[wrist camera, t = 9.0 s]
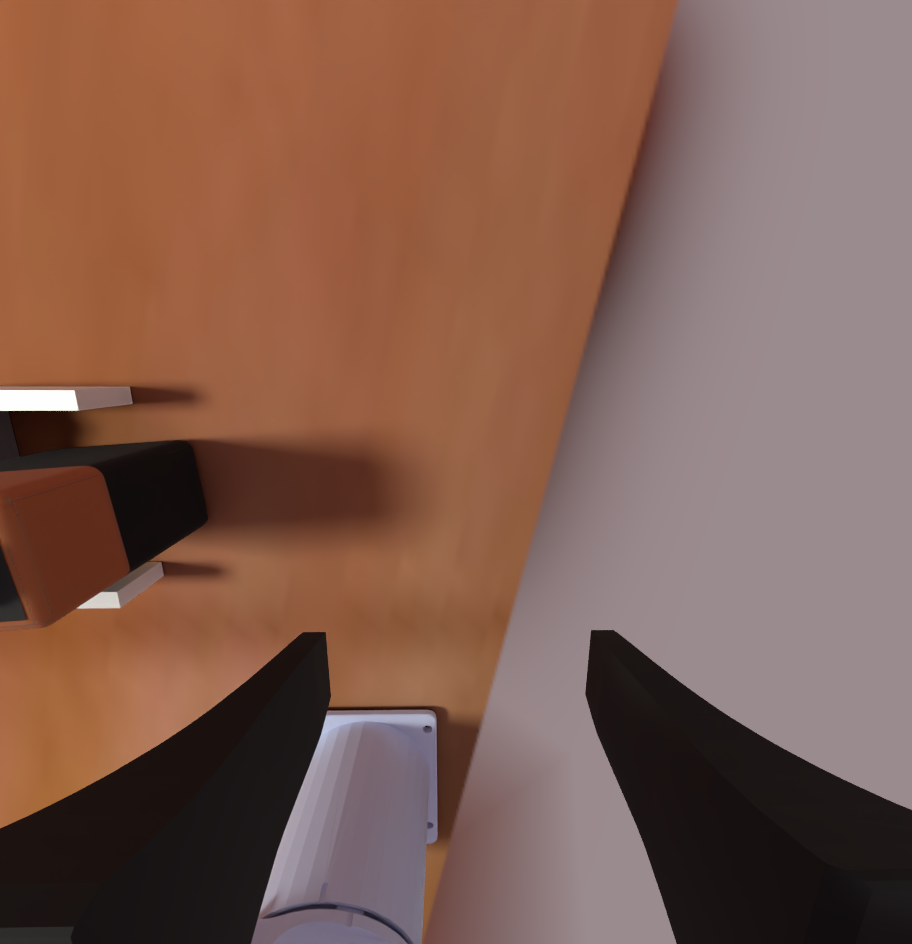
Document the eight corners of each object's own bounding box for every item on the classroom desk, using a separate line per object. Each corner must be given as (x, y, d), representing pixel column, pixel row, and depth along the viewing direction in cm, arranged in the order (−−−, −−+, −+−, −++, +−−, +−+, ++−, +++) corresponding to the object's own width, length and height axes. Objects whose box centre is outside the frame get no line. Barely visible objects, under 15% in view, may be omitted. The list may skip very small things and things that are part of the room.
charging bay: (163, 576, 22) (115, 611, 19) (32, 576, 22) (-40, 612, 19) (129, 386, 20) (67, 390, 17) (-18, 386, 20) (-109, 390, 16)
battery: (214, 522, 21) (20, 654, 12) (79, 533, 21) (-226, 671, 12) (194, 437, 20) (-36, 503, 11) (53, 447, 20) (-306, 523, 11)
